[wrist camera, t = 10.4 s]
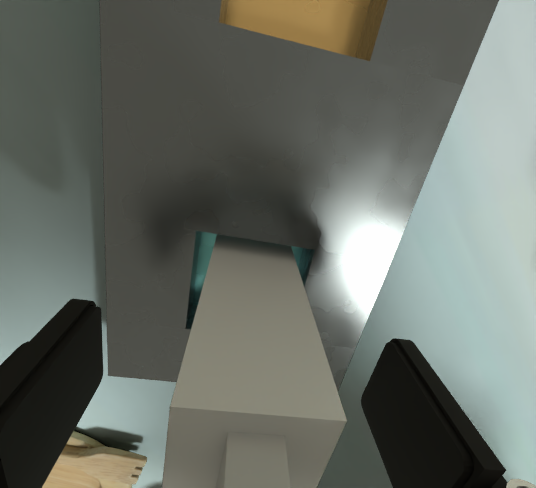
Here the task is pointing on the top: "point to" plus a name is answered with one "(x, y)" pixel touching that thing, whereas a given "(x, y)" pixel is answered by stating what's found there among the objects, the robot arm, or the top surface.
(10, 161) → the top surface
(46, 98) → the top surface
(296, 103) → the panel
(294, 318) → the plug
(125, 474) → the tableware set
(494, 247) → the top surface
